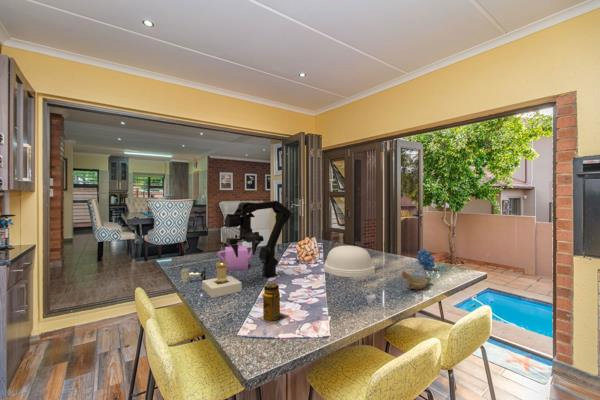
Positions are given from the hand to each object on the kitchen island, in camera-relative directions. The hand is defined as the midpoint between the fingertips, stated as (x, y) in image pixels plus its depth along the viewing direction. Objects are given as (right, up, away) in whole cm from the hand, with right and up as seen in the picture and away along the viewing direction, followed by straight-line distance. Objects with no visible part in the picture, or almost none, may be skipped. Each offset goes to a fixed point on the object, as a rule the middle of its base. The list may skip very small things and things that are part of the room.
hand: (245, 256), depth 142 cm
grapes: (+104, -13, +22) cm, 107 cm away
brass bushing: (-8, -13, -14) cm, 21 cm away
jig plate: (-8, -13, -14) cm, 21 cm away
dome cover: (+58, -13, +22) cm, 63 cm away
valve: (-27, -13, 0) cm, 30 cm away
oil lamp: (+86, -14, -9) cm, 87 cm away
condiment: (+19, -14, -42) cm, 48 cm away
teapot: (-10, -13, +28) cm, 32 cm away
